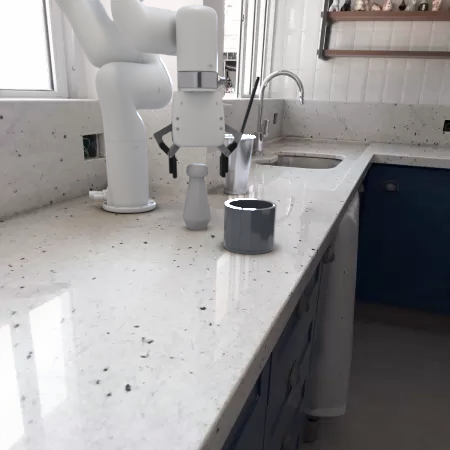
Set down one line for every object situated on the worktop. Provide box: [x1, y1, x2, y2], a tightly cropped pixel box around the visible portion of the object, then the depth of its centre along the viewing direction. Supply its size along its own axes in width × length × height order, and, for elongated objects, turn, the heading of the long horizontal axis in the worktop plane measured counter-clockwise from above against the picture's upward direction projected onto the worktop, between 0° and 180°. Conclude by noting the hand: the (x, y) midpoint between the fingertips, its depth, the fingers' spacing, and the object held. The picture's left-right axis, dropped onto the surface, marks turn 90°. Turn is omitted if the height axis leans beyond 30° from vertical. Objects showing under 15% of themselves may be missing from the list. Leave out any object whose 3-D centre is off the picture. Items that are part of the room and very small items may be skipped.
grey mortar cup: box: [223, 198, 278, 255], centre depth 88 cm, size 9×9×8 cm
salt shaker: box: [182, 163, 212, 231], centre depth 98 cm, size 6×6×13 cm
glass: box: [222, 76, 261, 196], centre depth 131 cm, size 11×11×30 cm
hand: (198, 177), depth 96 cm, fingers open, 9 cm apart
